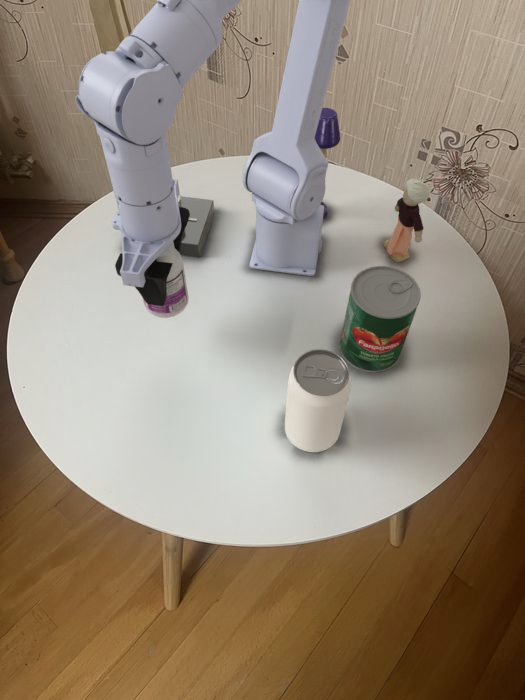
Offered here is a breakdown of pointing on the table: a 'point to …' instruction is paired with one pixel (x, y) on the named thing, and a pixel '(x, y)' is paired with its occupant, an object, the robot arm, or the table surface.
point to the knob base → (196, 225)
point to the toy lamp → (327, 135)
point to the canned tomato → (378, 318)
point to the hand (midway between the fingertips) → (163, 283)
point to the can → (316, 400)
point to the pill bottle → (172, 286)
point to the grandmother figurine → (407, 220)
